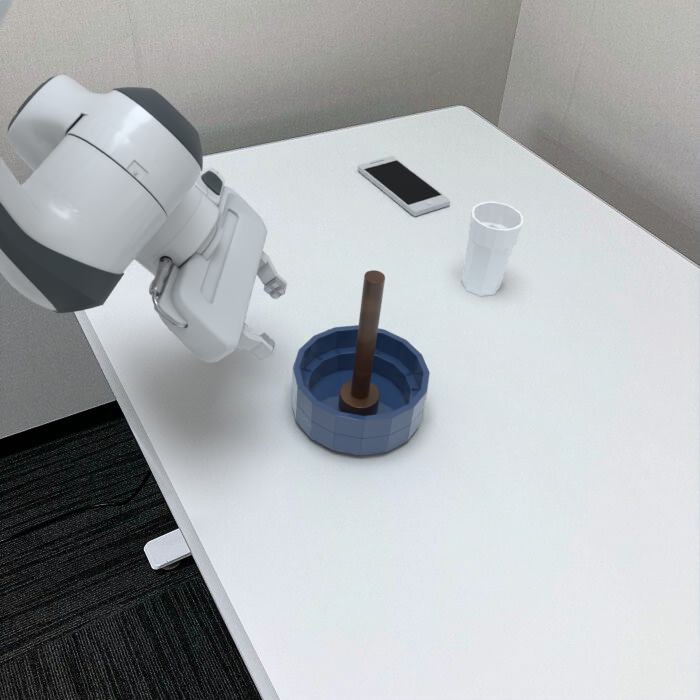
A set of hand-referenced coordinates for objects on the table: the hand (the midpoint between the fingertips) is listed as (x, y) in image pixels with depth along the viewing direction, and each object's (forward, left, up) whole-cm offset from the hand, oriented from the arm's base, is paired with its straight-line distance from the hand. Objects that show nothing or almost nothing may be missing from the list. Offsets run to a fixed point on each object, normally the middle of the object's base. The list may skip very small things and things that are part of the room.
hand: (275, 320), depth 79 cm
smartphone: (+41, +29, -12) cm, 52 cm away
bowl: (+7, -6, -12) cm, 15 cm away
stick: (+7, -6, -11) cm, 14 cm away
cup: (+35, +4, -12) cm, 37 cm away
